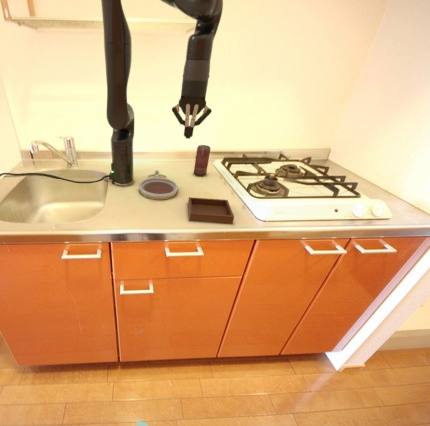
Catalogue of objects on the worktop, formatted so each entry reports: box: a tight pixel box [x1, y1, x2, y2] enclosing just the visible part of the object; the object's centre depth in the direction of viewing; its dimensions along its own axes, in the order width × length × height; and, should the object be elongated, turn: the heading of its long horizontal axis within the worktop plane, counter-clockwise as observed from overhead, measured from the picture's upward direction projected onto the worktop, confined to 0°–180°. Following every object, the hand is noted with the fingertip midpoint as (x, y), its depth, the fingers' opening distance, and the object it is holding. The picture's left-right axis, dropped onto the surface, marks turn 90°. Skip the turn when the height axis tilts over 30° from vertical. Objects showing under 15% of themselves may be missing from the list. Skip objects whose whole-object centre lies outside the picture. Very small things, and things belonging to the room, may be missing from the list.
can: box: [193, 144, 211, 178], centre depth 109 cm, size 6×6×14 cm
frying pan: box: [138, 169, 179, 201], centre depth 102 cm, size 17×3×28 cm
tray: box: [187, 196, 235, 225], centre depth 83 cm, size 15×12×3 cm
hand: (187, 137), depth 77 cm, fingers closed
